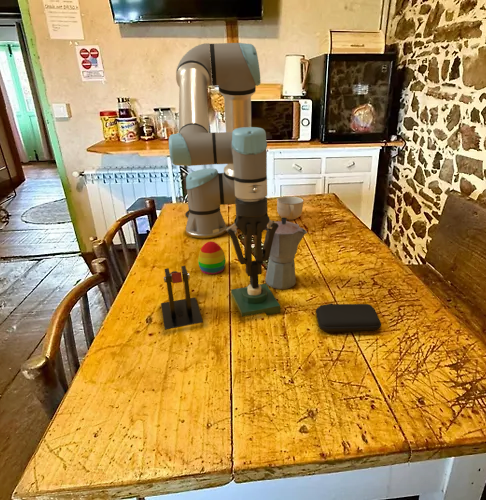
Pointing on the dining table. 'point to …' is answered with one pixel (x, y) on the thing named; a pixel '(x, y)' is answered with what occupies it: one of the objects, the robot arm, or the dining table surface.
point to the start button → (254, 290)
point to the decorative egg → (211, 258)
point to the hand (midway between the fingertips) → (254, 285)
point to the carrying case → (347, 318)
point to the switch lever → (176, 277)
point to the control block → (255, 301)
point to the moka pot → (283, 255)
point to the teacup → (289, 207)
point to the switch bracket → (180, 305)
